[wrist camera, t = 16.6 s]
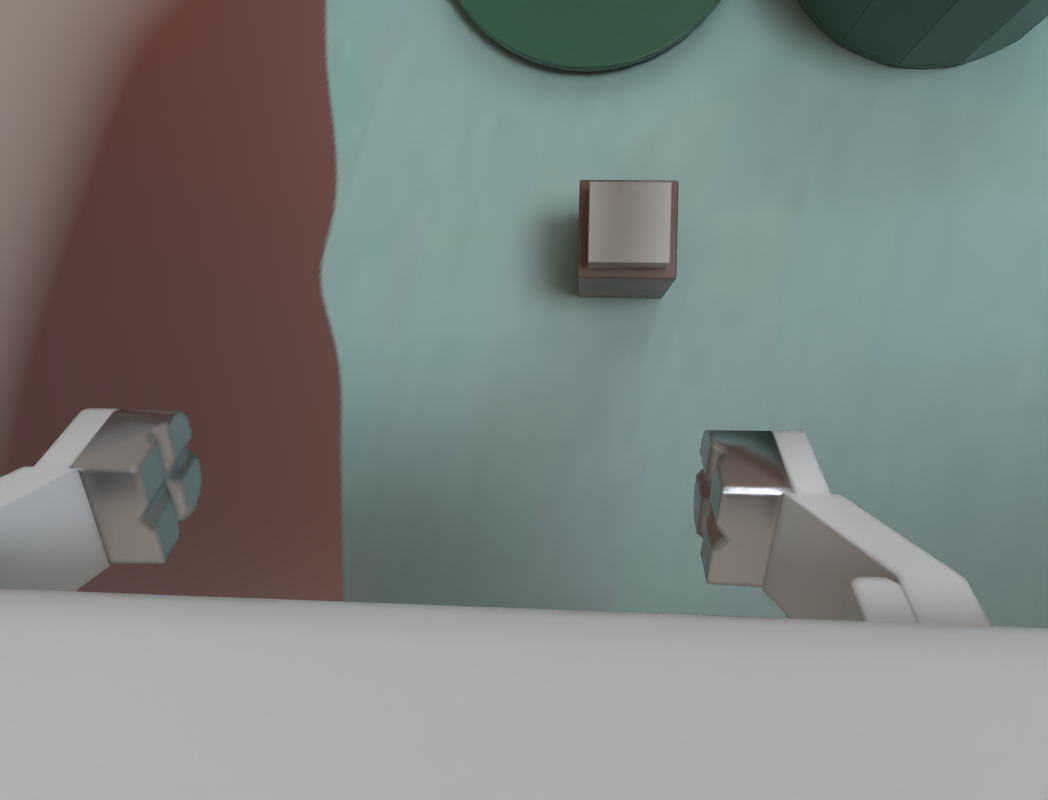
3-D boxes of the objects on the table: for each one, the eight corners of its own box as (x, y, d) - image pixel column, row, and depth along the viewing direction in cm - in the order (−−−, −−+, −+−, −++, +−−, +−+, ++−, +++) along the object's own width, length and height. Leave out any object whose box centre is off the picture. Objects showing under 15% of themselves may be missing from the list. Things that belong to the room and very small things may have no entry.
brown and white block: (663, 215, 42) (682, 171, 34) (661, 298, 42) (680, 273, 34) (580, 214, 42) (579, 170, 34) (578, 297, 42) (577, 272, 34)
